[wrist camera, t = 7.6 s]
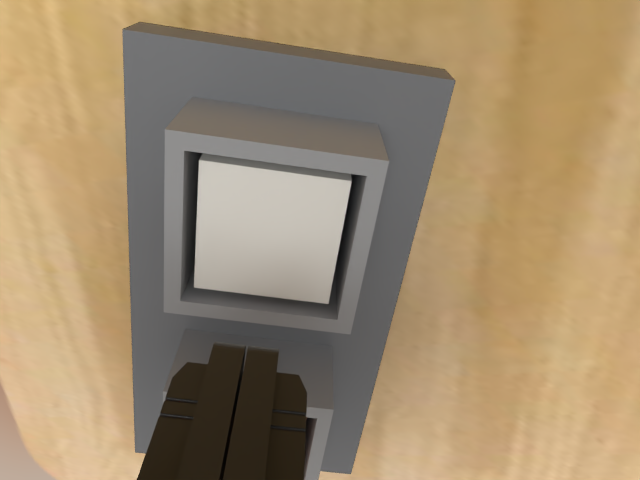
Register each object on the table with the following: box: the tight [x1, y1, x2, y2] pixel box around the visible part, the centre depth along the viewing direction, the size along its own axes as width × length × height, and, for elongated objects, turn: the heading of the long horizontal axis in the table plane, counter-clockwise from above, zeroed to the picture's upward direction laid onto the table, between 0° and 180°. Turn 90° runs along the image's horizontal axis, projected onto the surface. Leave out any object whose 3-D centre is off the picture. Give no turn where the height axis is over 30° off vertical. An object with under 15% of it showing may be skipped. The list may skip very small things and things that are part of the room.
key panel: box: [123, 22, 455, 480], centre depth 24 cm, size 22×12×6 cm, turn 172°
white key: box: [194, 153, 352, 304], centre depth 19 cm, size 5×5×2 cm
